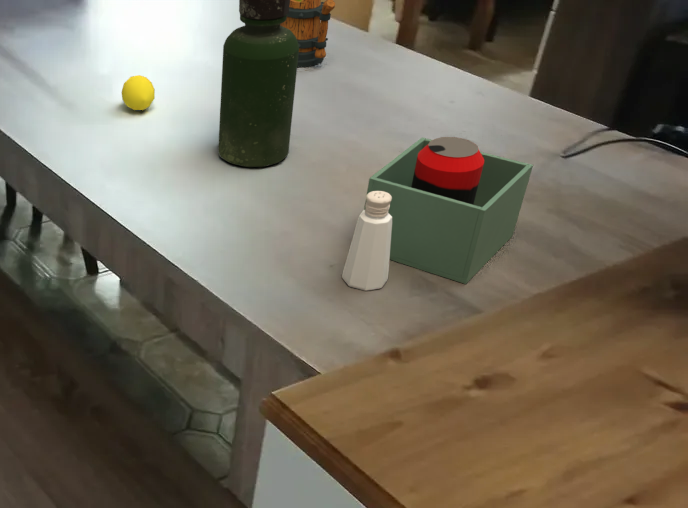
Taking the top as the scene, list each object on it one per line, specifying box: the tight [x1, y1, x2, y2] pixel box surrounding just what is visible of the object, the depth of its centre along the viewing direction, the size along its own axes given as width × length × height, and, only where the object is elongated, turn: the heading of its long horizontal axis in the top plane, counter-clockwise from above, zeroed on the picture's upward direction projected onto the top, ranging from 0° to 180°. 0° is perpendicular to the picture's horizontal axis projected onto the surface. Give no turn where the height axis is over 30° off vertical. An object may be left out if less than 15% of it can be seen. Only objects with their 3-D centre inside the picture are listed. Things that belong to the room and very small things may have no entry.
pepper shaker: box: [341, 191, 392, 292], centre depth 108 cm, size 5×5×11 cm
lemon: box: [121, 74, 156, 111], centre depth 152 cm, size 7×5×5 cm
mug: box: [280, 0, 336, 69], centre depth 163 cm, size 13×10×12 cm
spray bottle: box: [217, 0, 299, 168], centre depth 131 cm, size 10×10×25 cm
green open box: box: [363, 136, 534, 285], centre depth 114 cm, size 14×14×10 cm
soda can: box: [411, 136, 484, 205], centre depth 113 cm, size 8×8×12 cm
